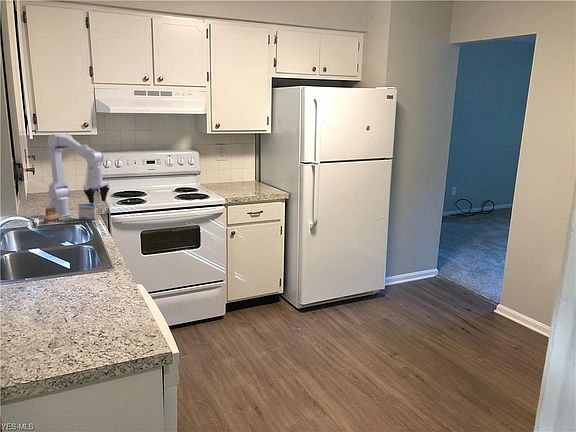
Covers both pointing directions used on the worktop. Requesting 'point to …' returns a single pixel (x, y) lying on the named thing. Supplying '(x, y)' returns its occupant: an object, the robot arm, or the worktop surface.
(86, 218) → the medicine box
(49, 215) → the lid
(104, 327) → the worktop surface
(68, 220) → the rubber mat
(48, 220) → the storage box
